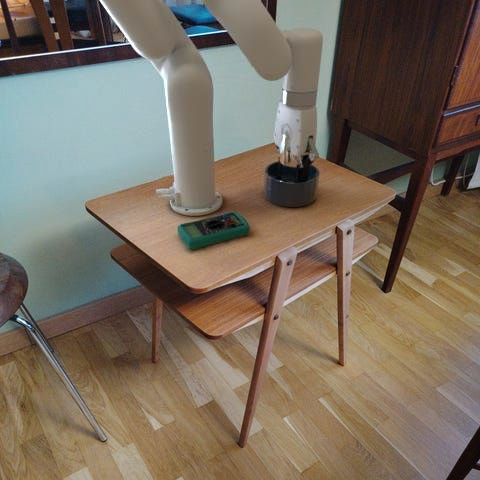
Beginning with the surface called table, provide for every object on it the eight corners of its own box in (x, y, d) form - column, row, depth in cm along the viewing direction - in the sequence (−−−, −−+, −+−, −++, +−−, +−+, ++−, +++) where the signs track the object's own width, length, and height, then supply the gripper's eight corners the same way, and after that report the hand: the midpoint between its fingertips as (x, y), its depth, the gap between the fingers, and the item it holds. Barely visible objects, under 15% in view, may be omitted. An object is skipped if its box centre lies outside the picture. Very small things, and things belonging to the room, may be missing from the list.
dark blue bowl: (271, 211, 106) (272, 185, 102) (258, 186, 116) (259, 162, 111) (323, 206, 108) (326, 180, 104) (307, 182, 117) (309, 158, 113)
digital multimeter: (252, 235, 98) (252, 223, 96) (189, 252, 93) (188, 240, 91) (237, 220, 103) (237, 208, 101) (176, 235, 98) (175, 223, 96)
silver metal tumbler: (291, 184, 115) (296, 124, 105) (310, 194, 111) (318, 133, 101) (270, 192, 112) (274, 131, 102) (289, 203, 108) (295, 140, 98)
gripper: (261, 89, 100) (259, 167, 112) (311, 111, 89) (302, 194, 102) (288, 84, 103) (283, 160, 115) (339, 105, 92) (327, 186, 105)
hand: (292, 175), depth 108 cm, fingers closed on silver metal tumbler, 6 cm apart
